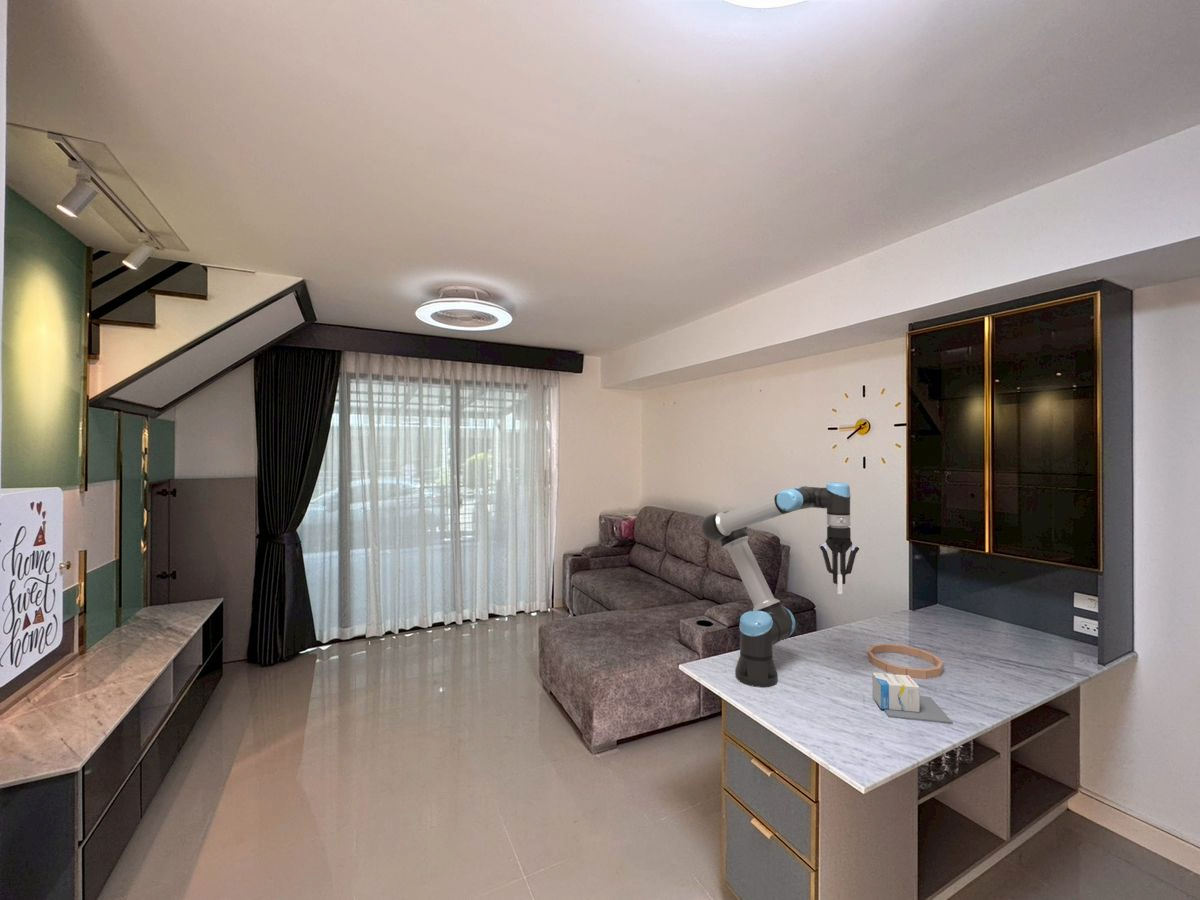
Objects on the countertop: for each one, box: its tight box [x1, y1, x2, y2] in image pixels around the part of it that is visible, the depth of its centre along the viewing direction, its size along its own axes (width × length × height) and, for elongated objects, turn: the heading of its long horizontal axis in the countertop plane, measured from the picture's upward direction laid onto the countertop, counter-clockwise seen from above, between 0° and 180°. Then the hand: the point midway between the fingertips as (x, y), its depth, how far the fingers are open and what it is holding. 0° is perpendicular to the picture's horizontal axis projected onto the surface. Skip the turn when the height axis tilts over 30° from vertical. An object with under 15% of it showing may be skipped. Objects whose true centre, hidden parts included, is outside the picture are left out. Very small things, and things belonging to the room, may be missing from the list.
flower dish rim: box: [866, 643, 944, 680], centre depth 196 cm, size 25×25×3 cm
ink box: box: [871, 672, 921, 712], centre depth 164 cm, size 9×8×12 cm
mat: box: [882, 695, 954, 725], centre depth 163 cm, size 18×16×1 cm
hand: (839, 592), depth 175 cm, fingers closed
